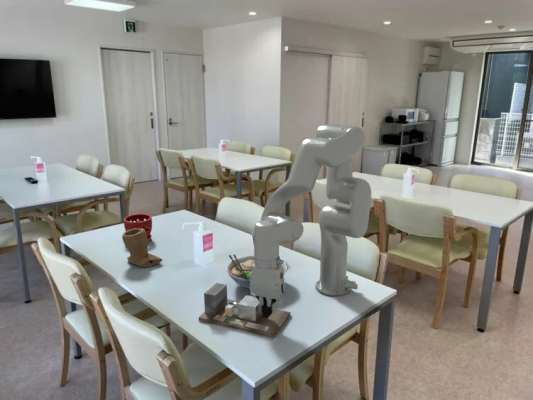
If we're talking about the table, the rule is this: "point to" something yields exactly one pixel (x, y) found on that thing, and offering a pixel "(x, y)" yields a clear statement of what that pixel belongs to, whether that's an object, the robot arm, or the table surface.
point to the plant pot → (139, 223)
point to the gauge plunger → (248, 308)
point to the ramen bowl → (243, 269)
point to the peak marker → (228, 311)
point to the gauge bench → (216, 308)
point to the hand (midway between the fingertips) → (266, 315)
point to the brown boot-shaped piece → (139, 248)
